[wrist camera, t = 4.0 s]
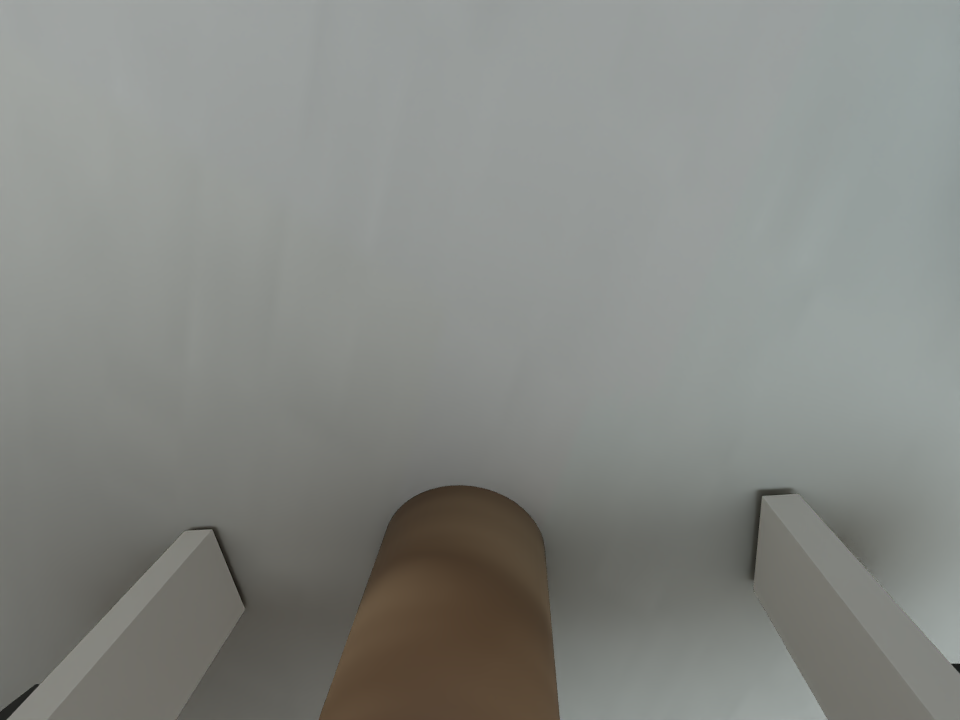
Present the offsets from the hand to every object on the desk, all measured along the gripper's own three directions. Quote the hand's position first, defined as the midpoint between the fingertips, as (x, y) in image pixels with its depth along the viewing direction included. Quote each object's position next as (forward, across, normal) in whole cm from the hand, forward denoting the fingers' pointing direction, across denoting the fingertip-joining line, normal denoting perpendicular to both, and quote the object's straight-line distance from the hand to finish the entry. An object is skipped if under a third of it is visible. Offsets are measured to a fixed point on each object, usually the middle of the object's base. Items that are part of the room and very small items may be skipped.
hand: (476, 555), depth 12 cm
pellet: (0, 0, 0) cm, 0 cm away
